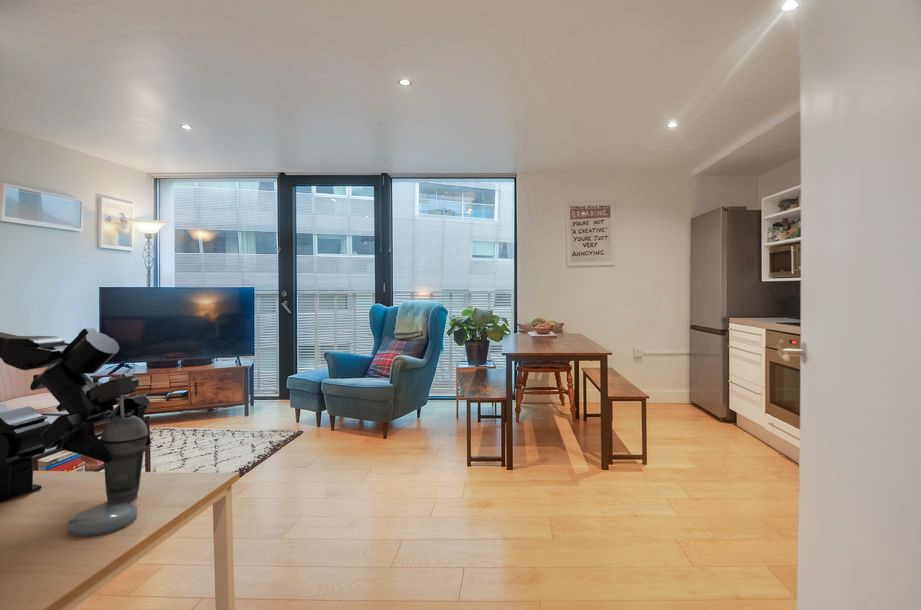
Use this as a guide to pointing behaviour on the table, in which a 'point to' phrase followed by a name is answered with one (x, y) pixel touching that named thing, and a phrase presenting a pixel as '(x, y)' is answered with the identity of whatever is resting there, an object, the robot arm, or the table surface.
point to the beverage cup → (124, 456)
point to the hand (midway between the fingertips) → (130, 452)
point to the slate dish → (102, 519)
